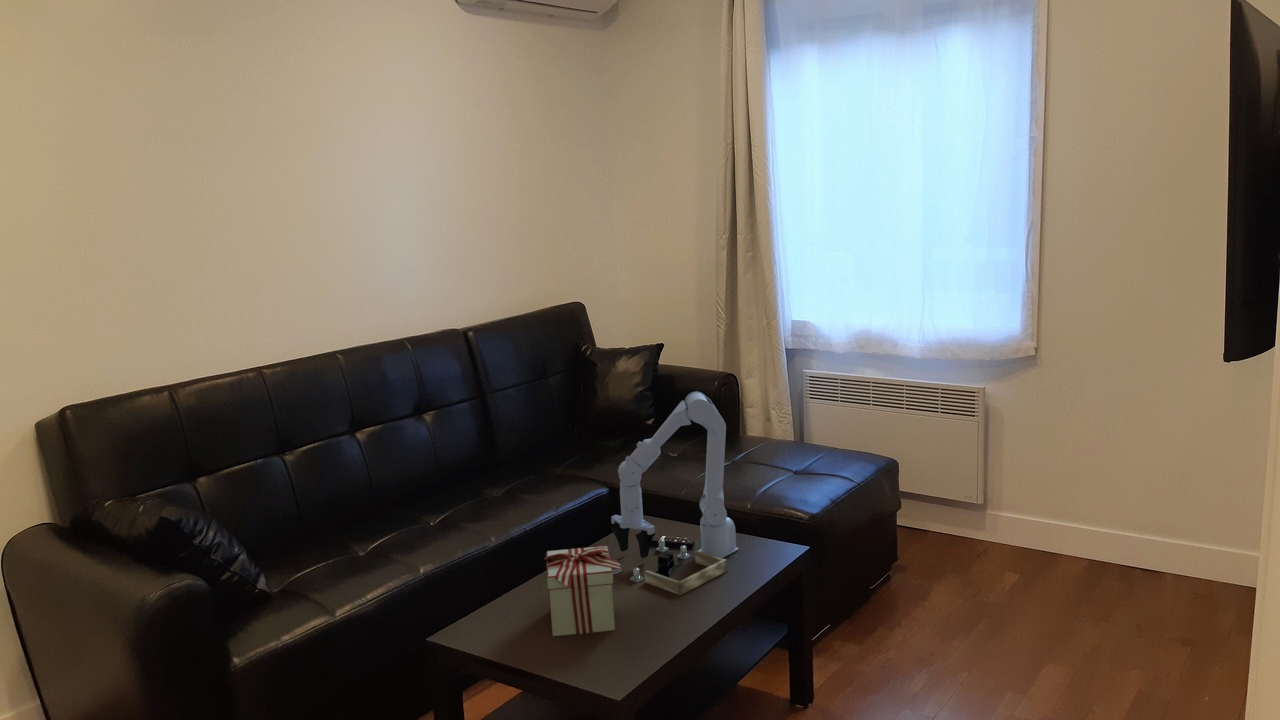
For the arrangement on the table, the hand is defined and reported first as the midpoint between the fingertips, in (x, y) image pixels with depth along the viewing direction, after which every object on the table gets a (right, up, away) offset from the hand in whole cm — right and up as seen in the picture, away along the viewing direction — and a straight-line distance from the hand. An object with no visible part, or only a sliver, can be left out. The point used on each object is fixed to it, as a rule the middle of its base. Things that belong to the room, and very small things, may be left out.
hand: (634, 553), depth 254 cm
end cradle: (+13, -3, -13) cm, 19 cm away
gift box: (-11, -9, -34) cm, 37 cm away
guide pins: (+4, -2, -4) cm, 6 cm away
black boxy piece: (+8, -3, -7) cm, 11 cm away
